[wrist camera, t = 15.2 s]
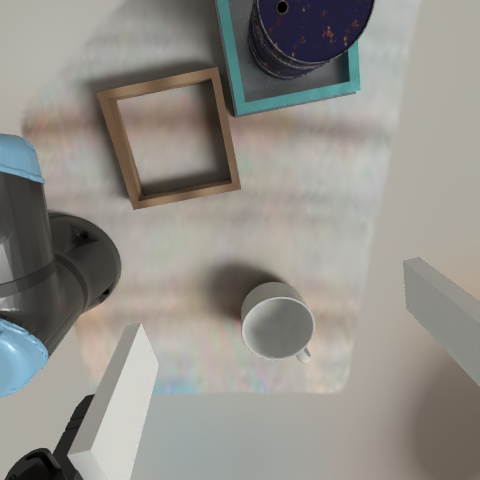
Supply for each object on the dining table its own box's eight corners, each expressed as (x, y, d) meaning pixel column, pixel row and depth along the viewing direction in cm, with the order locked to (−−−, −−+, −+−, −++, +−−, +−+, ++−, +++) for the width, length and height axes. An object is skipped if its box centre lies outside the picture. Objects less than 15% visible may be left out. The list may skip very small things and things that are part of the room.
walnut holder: (140, 203, 48) (133, 209, 45) (106, 93, 43) (96, 92, 40) (240, 184, 48) (241, 189, 44) (218, 70, 42) (217, 66, 39)
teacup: (228, 289, 54) (228, 317, 46) (289, 262, 52) (299, 286, 45) (264, 351, 59) (269, 385, 51) (320, 327, 57) (334, 359, 50)
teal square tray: (235, 117, 45) (235, 117, 41) (209, -25, 39) (207, -38, 36) (353, 93, 44) (362, 92, 41) (344, -54, 38) (354, -70, 35)
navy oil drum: (319, -23, 38) (370, -102, 24) (333, 68, 42) (385, 45, 28) (237, 3, 39) (240, -58, 25) (257, 91, 43) (271, 79, 29)
